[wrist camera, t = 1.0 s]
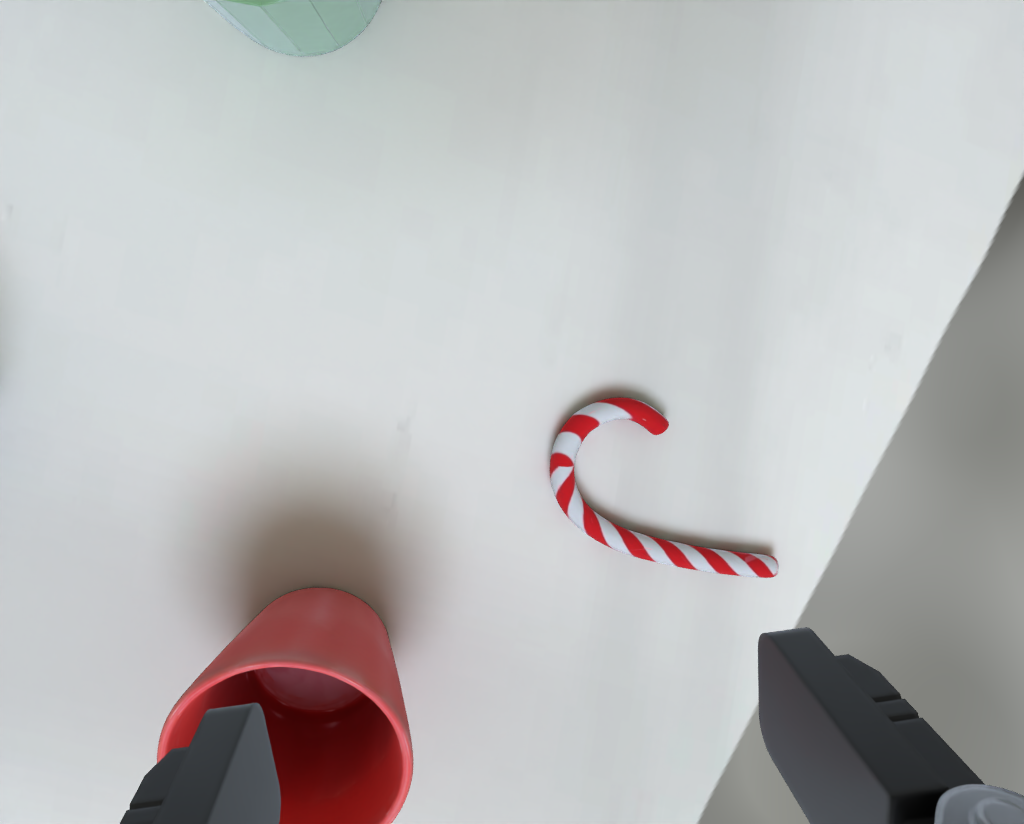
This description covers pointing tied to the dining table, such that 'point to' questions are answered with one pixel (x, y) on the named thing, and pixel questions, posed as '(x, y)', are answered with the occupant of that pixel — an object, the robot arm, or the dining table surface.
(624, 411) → the candy cane
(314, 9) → the cup
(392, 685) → the flower pot
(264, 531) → the dining table surface
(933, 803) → the robot arm
